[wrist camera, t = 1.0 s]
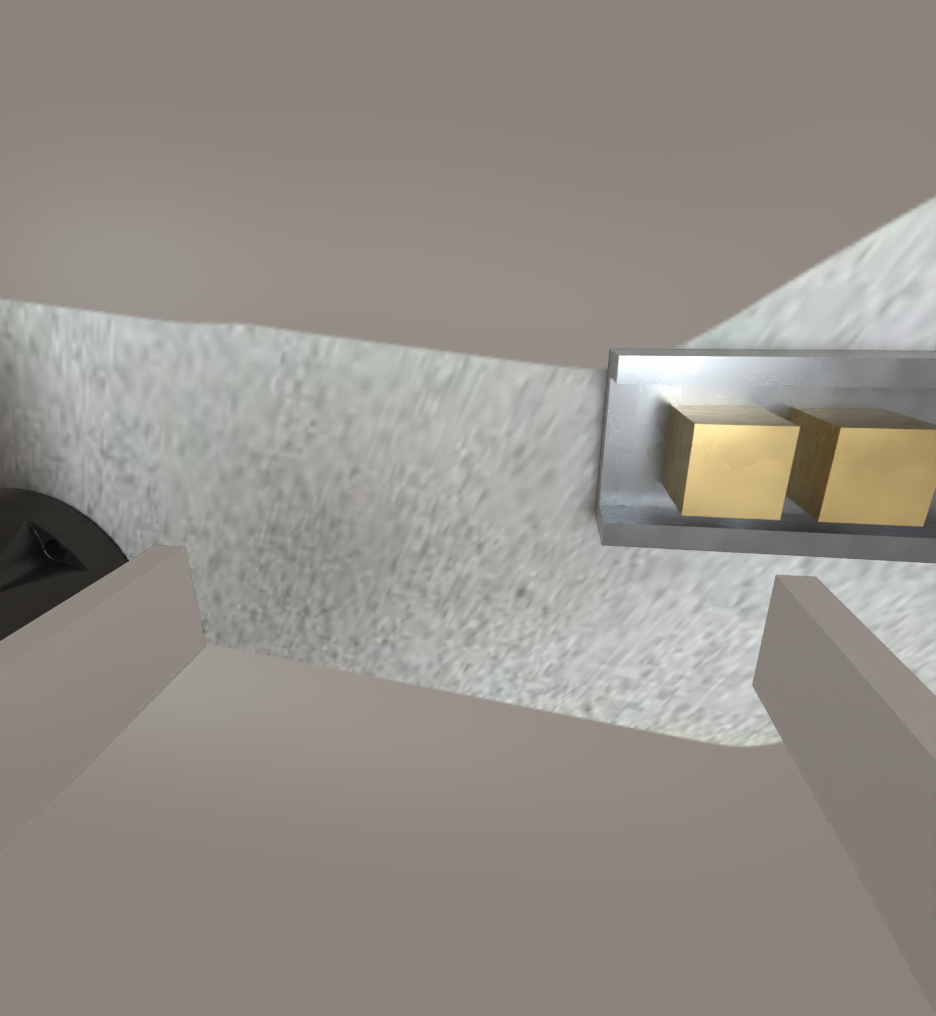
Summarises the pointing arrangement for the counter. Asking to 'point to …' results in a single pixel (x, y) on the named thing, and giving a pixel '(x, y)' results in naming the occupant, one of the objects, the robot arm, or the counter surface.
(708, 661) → the counter surface
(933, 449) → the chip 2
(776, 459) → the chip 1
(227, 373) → the counter surface
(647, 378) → the slot rail
